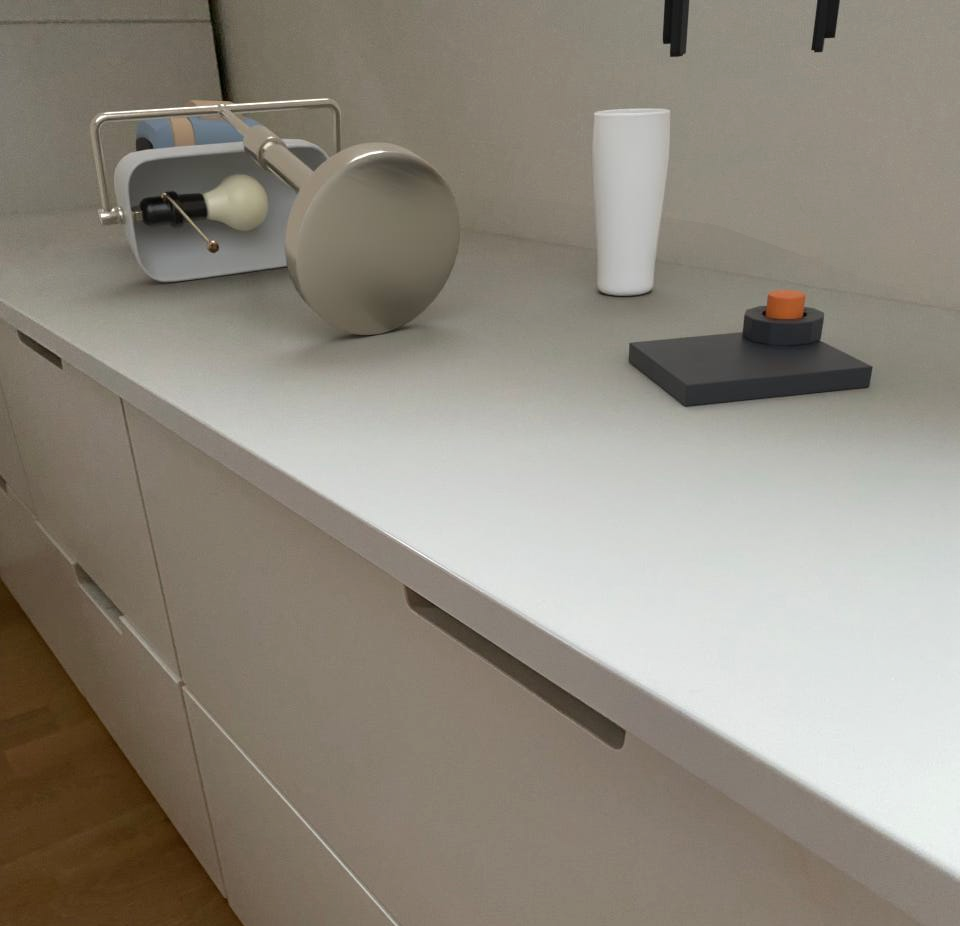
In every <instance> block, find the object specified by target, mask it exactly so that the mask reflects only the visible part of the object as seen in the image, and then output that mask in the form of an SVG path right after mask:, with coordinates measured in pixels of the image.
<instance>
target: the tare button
mask: <svg viewBox="0 0 960 926" xmlns="http://www.w3.org/2000/svg"><path fill="white" fill-rule="evenodd" d="M806 295H807V294H806V293H805V292H803V291H800V290H792V289H777V290H772V291H769V292H768V293H767V298H766V300H767V301H766V306H767V307H766V317H770V318H776V319H797V318H802V317H803V311H804V307H805V304H806V303H805V302H806Z"/></svg>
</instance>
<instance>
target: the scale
mask: <svg viewBox="0 0 960 926" xmlns="http://www.w3.org/2000/svg"><path fill="white" fill-rule="evenodd" d="M766 307H767V305H757V306H755V307H751V308H748V309H746V311H745V312H744V315H743V326H742V331H740V332H730V333H729V332H728V333H720V334H718V333H717V334H708V335H696V336H686V337H675V338H674V337H673V338H665V339H664V338H663V339H653V340H643V341H631V342H629V344H628V362H629V363H630V364H631V365H632V366H634V367H635V368H636V369H637V370H639V371H640V372H641V373H643V374H644V375H645V376H646V377H648V378H649V379H650V380H651V381H652V382H654V383H655V384H656V385H658V386H659V387H660V388H661V389H662V390H664V391H665V392H667V393H668V394H669V395H670V396H672V397H673V398H674V399H675V400H677V402H679V403H680V404H682V405H683V406H685V407H691V406H699V405H700V406H702V405H711V404H719V403H721V404H722V403H730V402H731V403H732V402H739V401H740V402H741V401H750V400H758V399H770V398H777V397H787V396H796V395H806V394H816V393H824V392H825V393H826V392H835V391H845V390H854V389H862V388H863V389H864V388H869V387H870V386H871V379H872V373H873V367H874V366H873V365H871V364H869V363H867V362H864V361H863V360H860V359H858V358H856V357H855V356H852V355H850V354H848V353H846V352H844V351H842V350H840V349H838V348H836V347H834V346H832V345H830V344H829V343H826V342H824V341H822V334H823V327H824V321H825V312H823V311H822V310H819V309H817V308H815V307H809V306H804V311H803V317H802V318H797V319H776V318H770V317H766Z"/></svg>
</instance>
